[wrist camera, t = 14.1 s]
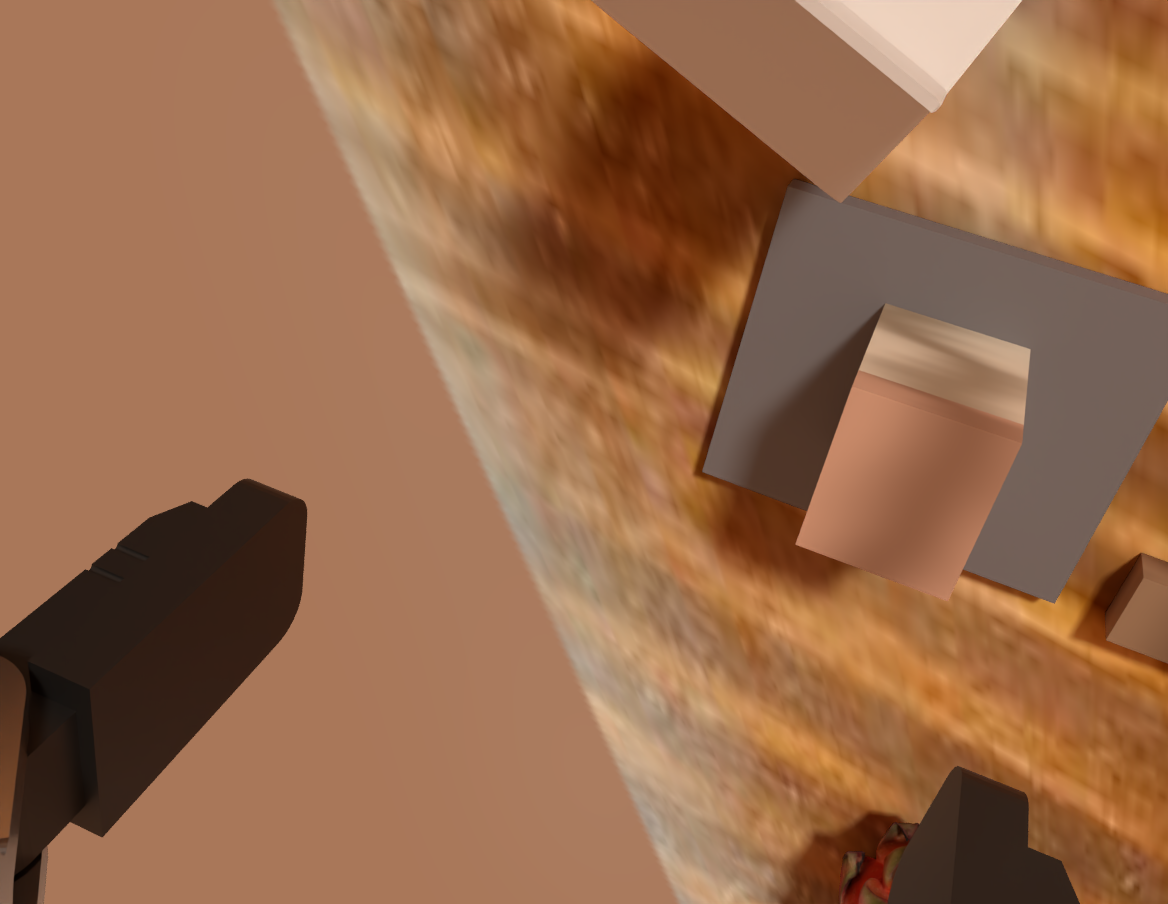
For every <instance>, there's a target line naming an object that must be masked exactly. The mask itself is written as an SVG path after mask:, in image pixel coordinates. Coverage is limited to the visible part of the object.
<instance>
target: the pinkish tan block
mask: <svg viewBox="0 0 1168 904" xmlns="http://www.w3.org/2000/svg"><path fill="white" fill-rule="evenodd" d="M1030 350H1031V349H1028V348H1025V347H1022V346H1019V345H1016V344H1012V343H1009V342H1006V341H1003V340H1000V339H997V338H994V337H990V336H987V335H984V334H981V333H978V332H975V331H972V330H968V329H965V328H962V327H959V326H956V325H953V324H949V323H946V322H943V321H940V320H937V319H934V318H931V317H927V316H924V315H921V314H918V313H915V312H912V311H908V310H905V309H902V308H899V307H896V306H893V305H890V304H886V303H885V306H884V308H883V311H882V313H881V315H880V318H879V320H878V323H877V325H876V328H875V330H874V333H873V335H872V338H871V340H870V343H869V345H868V348H867V350H866V353H865V355H864V358H863V360H862V363H861V365H860V368H859V370H858V373H857V375H856V378H855V380H854V383H853V385H852V388H851V391H850V394H849V396H848V399H847V402H846V405H845V408H844V410H843V413H842V416H841V419H840V421H839V424H838V427H837V430H836V433H835V435H834V438H833V441H832V444H831V447H830V449H829V452H828V455H827V458H826V460H825V463H824V466H823V469H822V472H821V474H820V477H819V480H818V483H817V486H816V488H815V491H814V494H813V497H812V499H811V502H810V505H809V508H808V511H807V513H806V516H805V519H804V522H803V525H802V527H801V530H800V533H799V536H798V538H797V541H796V544H795V545H798V546H800V547H803V548H806V549H808V550H811V551H814V552H817V553H819V554H822V555H825V556H827V557H830V558H833V559H835V560H838V561H841V562H843V563H846V564H849V565H851V566H854V567H857V568H860V569H862V570H865V571H868V572H870V573H873V574H876V575H878V576H881V577H884V578H886V579H889V580H892V581H894V582H897V583H900V584H903V585H905V586H908V587H911V588H913V589H916V590H919V591H921V592H924V593H927V594H929V595H932V596H935V597H937V598H940V599H943V600H946V601H948V600H949V598H950V595H951V593H952V591H953V589H954V587H955V585H956V583H957V581H958V579H959V576H960V574H961V572H962V570H963V568H964V566H965V564H966V562H967V559H968V557H969V555H970V553H971V551H972V549H973V547H974V545H975V542H976V540H977V538H978V536H979V534H980V532H981V530H982V528H983V525H984V523H985V521H986V519H987V517H988V515H989V513H990V511H991V509H992V506H993V504H994V502H995V500H996V498H997V496H998V494H999V492H1000V489H1001V487H1002V485H1003V483H1004V481H1005V479H1006V477H1007V475H1008V472H1009V470H1010V468H1011V466H1012V464H1013V462H1014V460H1015V458H1016V455H1017V453H1018V451H1019V449H1020V447H1021V445H1022V440H1023V429H1024V417H1025V406H1026V395H1027V383H1028V372H1029V361H1030Z"/></svg>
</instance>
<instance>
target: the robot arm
mask: <svg viewBox="0 0 1168 904" xmlns="http://www.w3.org/2000/svg"><path fill="white" fill-rule="evenodd" d="M306 523H307V507H306V504H305V502H304V501H303V500H301V499H299V498H296V497H294V496H291V495H289V494H286V493H284V492H281V491H279V490H276V489H274V488H271V487H269V486H266V485H264V484H261V483H259V482H256V481H254V480H251V479H243V480H241V481H239V482H237V483H236V484H235V485H233V486H232V487H231V488H230V489H229V490H228V491H226V492H225V493H224V494H223V495H222V496H220V497H219V498H218V499H217V500H216V501H215V502H213V503H212V504H211V505H210V506H209V507H208V508H207V507H205V506H202V505H199V504H197V503H195V502H192V501H191V502H188V503H186V504H183V505H181V506H178V507H176V508H173V509H171V510H168V511H166V512H163V513H160V514H158V515H155V516H153V517H150V518H148V519H147V520H146V521H145V522H143V523H142V524H141V525H140V526H139V527H138V528H136V529H135V530H134V531H132V532H131V533H130V534H129V535H128V536H126V537H125V538H124V539H122V540H121V541H120V542H119V543H118V545H117V547H116V549H112V548H111V549H110V550H109V551H108V552H106V553H105V554H104V555H103V556H101V557H100V558H99V559H98V560H96V562H94V563H93V564H92V567H91V569H90V570H89V571H88V570H84V571H83V572H82V573H80V574H79V575H78V576H77V577H75V578H74V579H73V580H72V581H70V582H69V583H68V584H67V585H66V586H64V587H63V588H62V589H61V590H59V591H58V592H57V593H56V594H54V595H53V596H52V597H51V598H49V599H48V600H47V601H46V602H44V603H43V604H42V605H41V606H40V607H38V608H37V609H36V610H35V611H33V612H32V613H31V614H30V615H28V616H27V617H26V618H25V619H24V620H22V621H21V622H20V623H19V624H17V625H16V626H15V627H14V628H12V629H11V630H10V631H9V632H7V633H6V634H5V635H4V636H2V637H1V638H0V904H44V895H45V884H46V871H47V861H48V848H47V845H48V844H49V843H50V842H51V841H52V840H53V839H54V838H55V837H56V836H57V835H58V834H59V833H60V831H61V830H62V829H63V828H64V827H65V826H66V825H67V824H68V823H69V822H72V823H74V824H76V825H78V826H80V827H82V828H84V829H86V830H88V831H90V832H92V833H94V834H96V835H98V836H100V837H103V836H104V835H105V834H106V833H107V832H108V831H109V829H110V828H111V827H112V826H113V825H114V824H115V823H116V822H117V821H118V820H119V818H120V817H121V816H122V815H123V814H124V813H125V812H126V811H127V809H129V807H130V806H131V805H132V804H133V803H134V802H135V801H136V800H137V799H138V797H139V796H140V795H141V794H142V793H143V792H144V791H145V790H146V789H147V787H148V786H149V785H150V784H151V783H152V782H153V781H154V780H155V779H156V778H157V776H158V775H159V774H160V773H161V772H162V771H163V770H164V769H165V768H166V766H167V765H168V764H169V763H170V762H171V761H172V760H173V759H174V758H175V757H176V755H177V754H178V753H179V752H180V751H181V750H182V749H183V748H184V747H185V745H186V744H187V743H188V742H189V741H190V740H191V739H192V738H193V737H194V736H195V734H196V733H197V732H198V731H199V730H200V729H201V728H202V727H203V726H204V724H205V723H206V722H207V721H208V720H209V719H210V718H211V717H212V716H213V715H214V713H215V712H216V711H217V710H218V709H219V708H220V707H221V706H222V704H223V703H224V702H225V701H226V700H227V699H228V698H229V697H230V696H231V695H232V694H233V692H234V691H235V690H236V689H237V688H238V687H239V686H240V685H241V684H242V682H243V681H244V680H245V679H246V678H247V677H248V676H249V675H250V674H251V672H252V671H253V670H254V669H255V668H256V667H257V666H258V665H259V664H260V663H261V661H262V660H263V659H264V658H265V657H266V656H267V655H268V654H269V652H270V651H271V650H272V649H273V648H274V647H275V646H276V645H277V644H278V643H279V641H280V640H281V639H282V637H283V636H284V635H285V634H286V632H287V630H288V629H289V627H290V625H291V623H292V622H293V620H294V617H295V615H296V613H297V610H298V607H299V604H300V600H301V595H302V586H303V571H304V556H305V555H304V554H305V540H306V525H307V524H306ZM1028 811H1029V807H1028V798H1027V795H1026V794H1025V793H1024V792H1021V791H1019V790H1016V789H1014V788H1012V787H1009V786H1007V785H1004V784H1002V783H999V782H997V781H994V780H992V779H989V778H987V777H984V776H982V775H979V774H977V773H974V772H972V771H969V770H967V769H964V768H962V767H959V766H957V767H955V768H954V769H953V770H952V771H951V772H950V774H949V775H948V777H947V778H946V780H945V782H944V784H943V785H942V787H941V789H940V790H939V792H938V794H937V796H936V797H935V799H934V801H933V802H932V804H931V806H930V808H929V809H928V811H927V813H926V814H925V816H924V818H923V820H922V821H921V823H920V825H919V826H918V828H917V830H916V832H915V833H914V835H913V837H912V838H911V840H910V842H909V844H908V845H907V847H906V849H905V851H904V853H903V855H902V857H901V860H900V862H899V865H898V867H897V870H896V873H895V876H894V879H893V882H892V886H891V890H890V893H889V898H888V903H887V904H1080V903H1079V901H1078V898H1077V896H1076V894H1075V891H1074V889H1073V887H1072V884H1071V882H1070V880H1069V878H1068V875H1067V873H1066V871H1065V868H1064V866H1063V864H1062V861H1060V860H1058V859H1055V858H1053V857H1050V856H1048V855H1045V854H1043V853H1041V852H1038V851H1036V850H1033V849H1031V848H1028Z"/></svg>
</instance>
